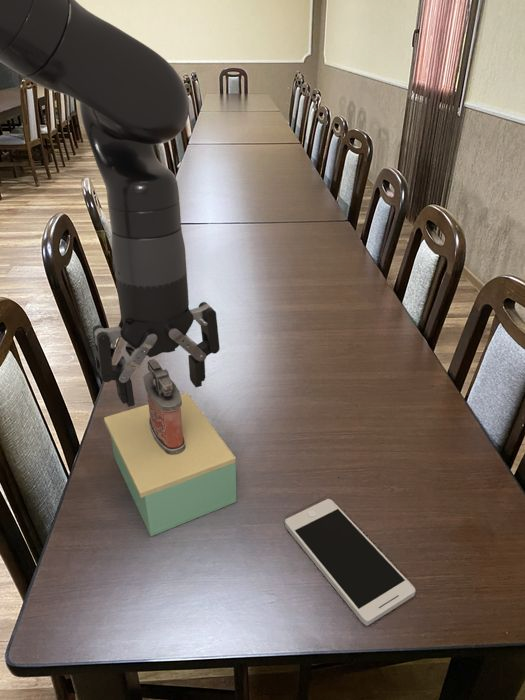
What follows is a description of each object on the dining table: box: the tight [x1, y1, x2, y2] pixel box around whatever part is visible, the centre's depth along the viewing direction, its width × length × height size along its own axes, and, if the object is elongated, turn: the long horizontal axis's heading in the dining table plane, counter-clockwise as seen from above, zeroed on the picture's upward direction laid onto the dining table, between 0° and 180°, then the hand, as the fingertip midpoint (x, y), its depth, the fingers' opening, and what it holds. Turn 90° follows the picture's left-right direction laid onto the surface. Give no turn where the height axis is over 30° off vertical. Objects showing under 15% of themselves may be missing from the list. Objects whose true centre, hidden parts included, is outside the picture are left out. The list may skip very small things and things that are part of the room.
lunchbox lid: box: [103, 392, 237, 498], centre depth 69 cm, size 12×16×1 cm
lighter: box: [142, 358, 186, 455], centre depth 66 cm, size 8×3×10 cm, turn 29°
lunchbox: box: [110, 436, 237, 537], centre depth 71 cm, size 12×16×7 cm
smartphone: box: [284, 498, 416, 627], centre depth 62 cm, size 7×16×1 cm, turn 31°
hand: (163, 393), depth 66 cm, fingers open, 8 cm apart
